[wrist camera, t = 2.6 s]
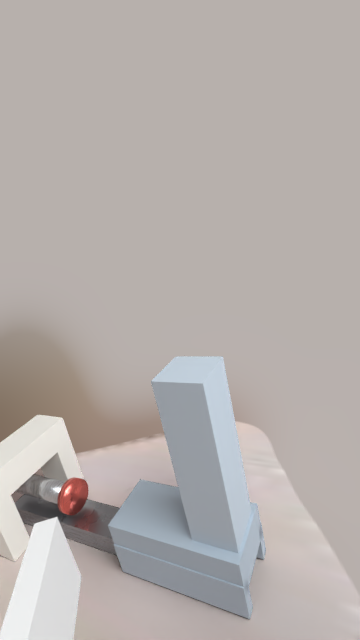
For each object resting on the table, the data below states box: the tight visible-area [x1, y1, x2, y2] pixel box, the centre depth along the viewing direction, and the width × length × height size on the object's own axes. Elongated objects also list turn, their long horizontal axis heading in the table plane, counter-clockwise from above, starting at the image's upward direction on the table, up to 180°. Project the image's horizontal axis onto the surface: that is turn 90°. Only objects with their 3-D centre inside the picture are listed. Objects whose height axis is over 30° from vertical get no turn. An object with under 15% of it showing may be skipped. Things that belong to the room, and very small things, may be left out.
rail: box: [15, 494, 120, 555], centre depth 32 cm, size 24×3×2 cm, turn 64°
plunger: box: [15, 474, 88, 516], centre depth 35 cm, size 9×3×3 cm, turn 64°
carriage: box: [108, 357, 266, 619], centre depth 26 cm, size 11×5×18 cm, turn 64°
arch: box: [0, 415, 84, 562], centre depth 36 cm, size 4×10×9 cm, turn 154°
